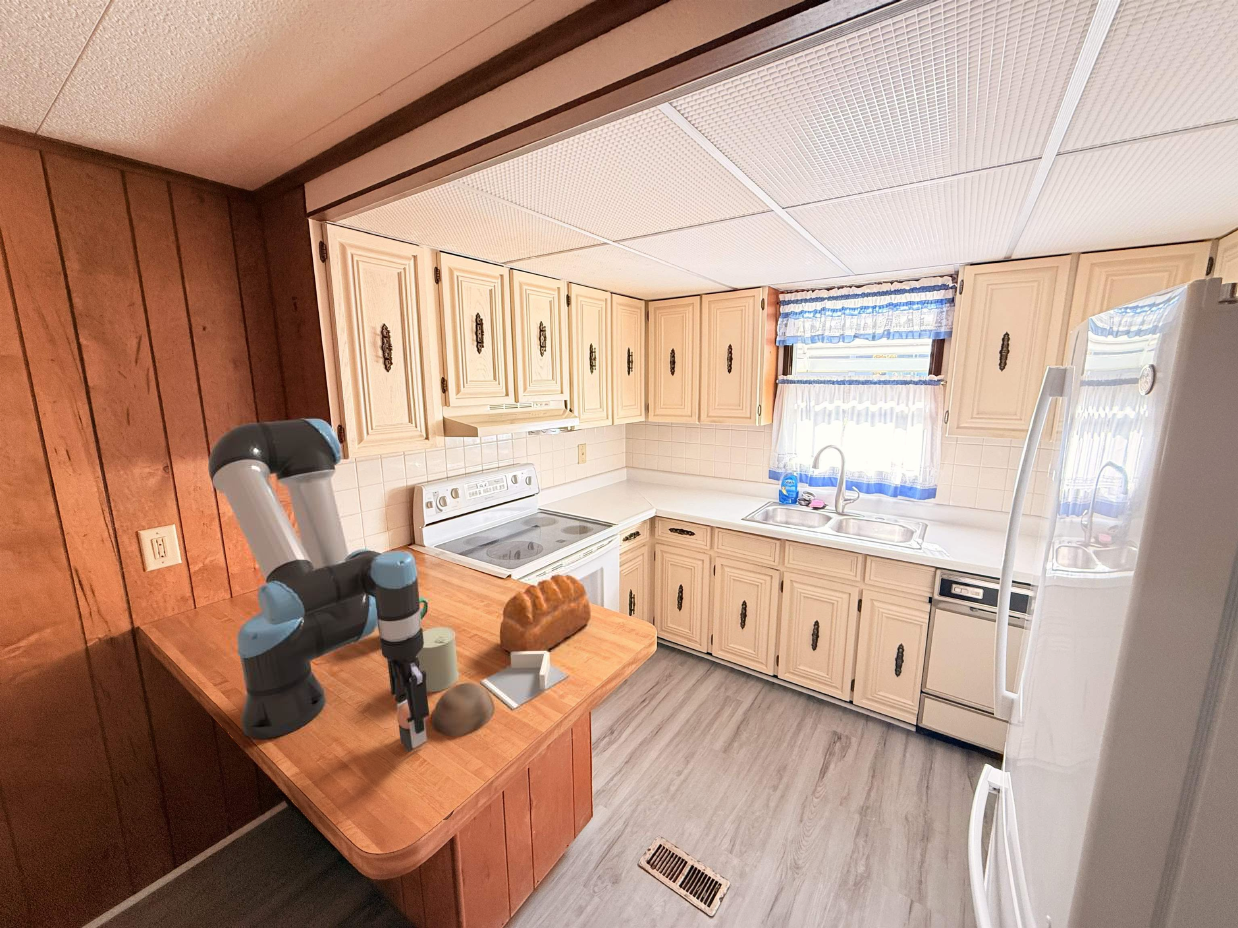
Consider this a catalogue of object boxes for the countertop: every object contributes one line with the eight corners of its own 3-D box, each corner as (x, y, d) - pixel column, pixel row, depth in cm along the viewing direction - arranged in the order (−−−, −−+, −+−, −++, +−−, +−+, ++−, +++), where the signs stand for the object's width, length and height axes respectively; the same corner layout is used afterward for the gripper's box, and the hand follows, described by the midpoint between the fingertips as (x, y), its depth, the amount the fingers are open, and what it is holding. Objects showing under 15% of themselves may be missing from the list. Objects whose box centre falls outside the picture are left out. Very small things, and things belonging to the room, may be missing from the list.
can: (435, 697, 111) (430, 650, 108) (410, 683, 115) (405, 638, 113) (467, 675, 118) (463, 631, 116) (442, 664, 123) (438, 621, 121)
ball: (404, 738, 93) (402, 716, 92) (394, 726, 97) (391, 704, 96) (429, 725, 97) (427, 703, 96) (419, 713, 100) (416, 691, 99)
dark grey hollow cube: (408, 751, 95) (406, 734, 94) (400, 741, 97) (398, 724, 97) (427, 741, 97) (425, 723, 97) (419, 731, 100) (417, 714, 99)
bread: (494, 647, 130) (490, 594, 127) (562, 608, 151) (560, 562, 148) (530, 664, 122) (526, 608, 119) (596, 621, 142) (595, 572, 139)
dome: (453, 775, 98) (447, 719, 95) (424, 742, 106) (419, 690, 104) (507, 739, 107) (504, 688, 104) (477, 711, 116) (473, 663, 113)
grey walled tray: (513, 709, 106) (512, 693, 105) (480, 682, 116) (478, 667, 115) (568, 676, 117) (568, 661, 116) (534, 653, 127) (533, 639, 126)
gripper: (441, 641, 89) (452, 749, 94) (402, 609, 101) (413, 706, 106) (400, 658, 84) (413, 772, 88) (364, 622, 96) (377, 724, 101)
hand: (413, 736), depth 97 cm, fingers closed on ball, 5 cm apart
